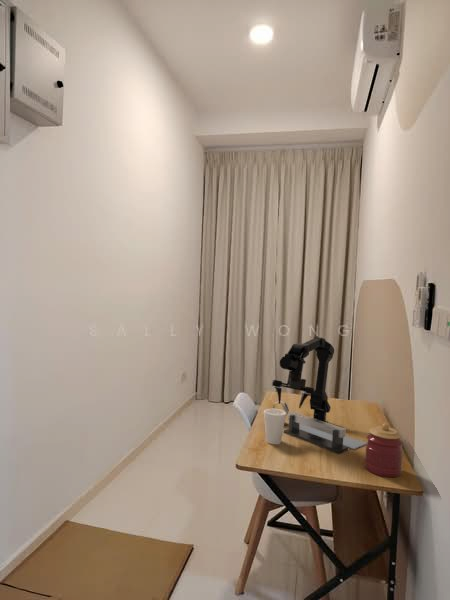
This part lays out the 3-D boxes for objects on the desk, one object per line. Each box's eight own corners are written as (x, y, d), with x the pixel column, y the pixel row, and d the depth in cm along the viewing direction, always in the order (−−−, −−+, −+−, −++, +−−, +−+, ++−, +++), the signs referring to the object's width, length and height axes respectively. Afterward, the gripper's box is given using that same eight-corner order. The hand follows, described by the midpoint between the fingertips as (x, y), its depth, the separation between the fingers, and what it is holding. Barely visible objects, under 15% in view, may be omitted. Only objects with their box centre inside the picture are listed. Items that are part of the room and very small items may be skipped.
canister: (371, 459, 161) (374, 415, 160) (405, 470, 152) (408, 424, 152) (359, 469, 151) (362, 423, 150) (395, 481, 142) (398, 432, 142)
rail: (292, 418, 189) (292, 411, 189) (345, 436, 169) (345, 428, 169) (288, 419, 187) (288, 412, 187) (341, 437, 166) (341, 430, 166)
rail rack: (293, 429, 191) (294, 412, 191) (348, 449, 170) (349, 429, 169) (283, 432, 186) (284, 414, 186) (338, 453, 165) (340, 433, 165)
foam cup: (287, 440, 176) (289, 411, 176) (279, 447, 168) (281, 416, 168) (267, 436, 181) (269, 407, 181) (258, 442, 173) (260, 412, 173)
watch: (287, 426, 195) (288, 404, 195) (271, 424, 198) (272, 402, 197) (288, 423, 201) (290, 401, 201) (272, 420, 203) (273, 399, 203)
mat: (307, 423, 201) (307, 422, 201) (366, 444, 177) (367, 443, 177) (293, 428, 194) (293, 427, 194) (353, 449, 170) (353, 448, 170)
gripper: (276, 367, 177) (270, 403, 175) (319, 376, 176) (312, 412, 174) (275, 367, 188) (268, 401, 186) (314, 375, 187) (308, 409, 185)
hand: (289, 405), depth 182 cm, fingers open, 9 cm apart
